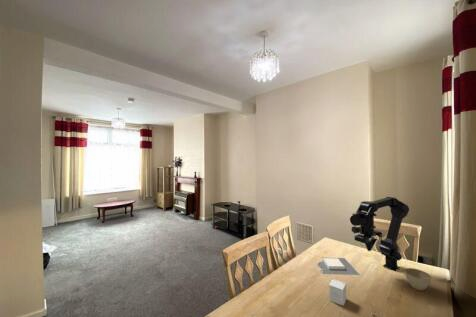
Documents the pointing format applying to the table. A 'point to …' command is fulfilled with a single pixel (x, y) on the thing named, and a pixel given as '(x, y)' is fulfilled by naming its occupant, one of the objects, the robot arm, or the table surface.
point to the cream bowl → (417, 278)
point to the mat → (348, 269)
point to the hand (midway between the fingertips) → (369, 251)
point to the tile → (333, 263)
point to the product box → (337, 292)
